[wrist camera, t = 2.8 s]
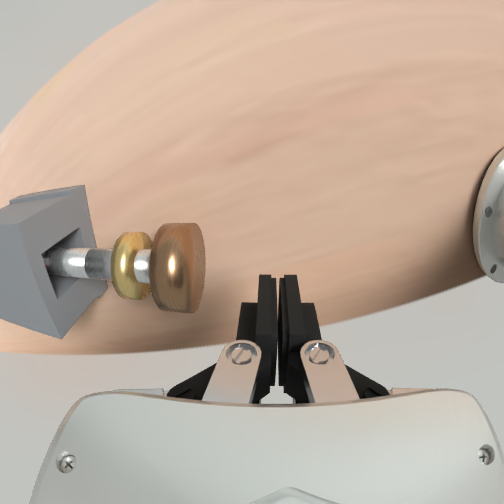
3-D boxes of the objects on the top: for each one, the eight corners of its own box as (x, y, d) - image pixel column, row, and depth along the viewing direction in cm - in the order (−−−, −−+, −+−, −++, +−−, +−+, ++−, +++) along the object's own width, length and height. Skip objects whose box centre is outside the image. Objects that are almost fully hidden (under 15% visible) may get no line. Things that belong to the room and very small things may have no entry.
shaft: (201, 211, 16) (173, 246, 12) (208, 282, 19) (188, 331, 14) (53, 217, 17) (11, 244, 13) (68, 273, 20) (34, 306, 15)
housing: (84, 184, 18) (16, 218, 11) (108, 287, 21) (63, 342, 15) (20, 195, 18) (-36, 225, 12) (43, 280, 22) (1, 320, 16)
